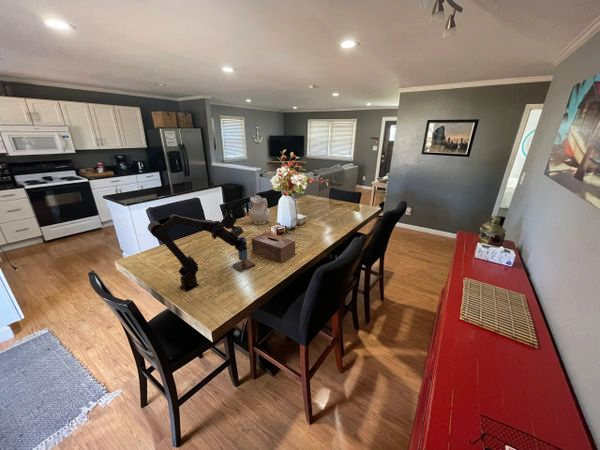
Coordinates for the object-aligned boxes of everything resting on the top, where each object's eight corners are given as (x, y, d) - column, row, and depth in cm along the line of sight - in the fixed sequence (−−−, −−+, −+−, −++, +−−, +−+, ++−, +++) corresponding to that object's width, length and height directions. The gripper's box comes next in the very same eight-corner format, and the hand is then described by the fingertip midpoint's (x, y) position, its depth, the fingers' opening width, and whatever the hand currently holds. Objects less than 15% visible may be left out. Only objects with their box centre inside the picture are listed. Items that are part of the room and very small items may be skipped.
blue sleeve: (244, 260, 140) (243, 240, 136) (237, 259, 141) (236, 239, 137) (248, 257, 144) (247, 237, 140) (241, 256, 146) (239, 236, 141)
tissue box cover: (252, 251, 163) (251, 238, 159) (266, 244, 174) (266, 232, 170) (281, 262, 148) (281, 248, 145) (295, 254, 160) (295, 240, 156)
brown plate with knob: (240, 271, 138) (239, 265, 137) (232, 265, 145) (232, 259, 143) (255, 265, 145) (254, 259, 143) (247, 260, 151) (246, 254, 149)
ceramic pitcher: (276, 223, 221) (276, 196, 214) (262, 227, 205) (262, 199, 198) (258, 219, 232) (258, 193, 225) (244, 223, 216) (243, 196, 209)
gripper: (242, 227, 126) (260, 241, 137) (226, 219, 139) (244, 232, 150) (229, 245, 124) (249, 257, 134) (214, 235, 137) (233, 247, 147)
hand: (244, 247), depth 142 cm, fingers closed on blue sleeve, 5 cm apart
